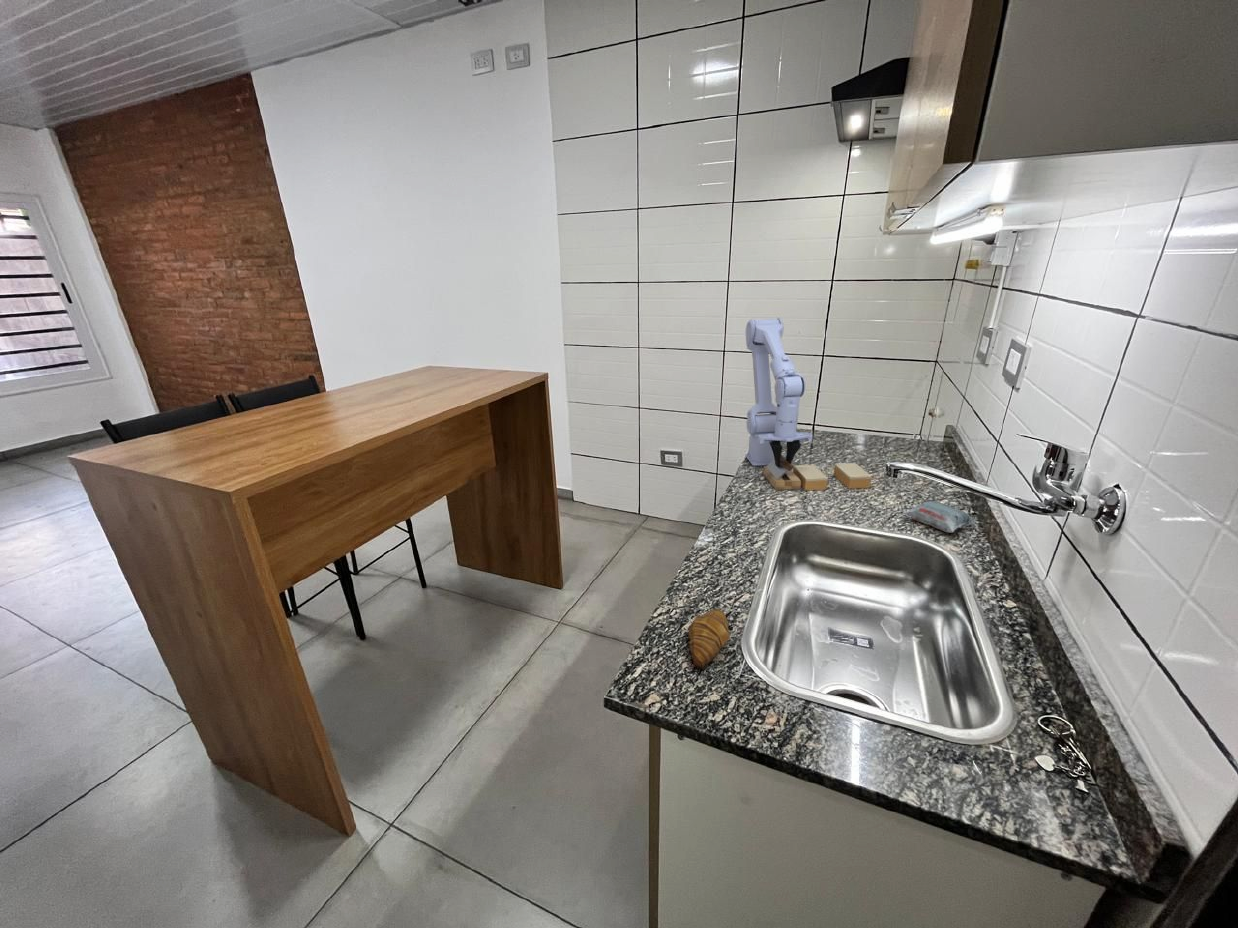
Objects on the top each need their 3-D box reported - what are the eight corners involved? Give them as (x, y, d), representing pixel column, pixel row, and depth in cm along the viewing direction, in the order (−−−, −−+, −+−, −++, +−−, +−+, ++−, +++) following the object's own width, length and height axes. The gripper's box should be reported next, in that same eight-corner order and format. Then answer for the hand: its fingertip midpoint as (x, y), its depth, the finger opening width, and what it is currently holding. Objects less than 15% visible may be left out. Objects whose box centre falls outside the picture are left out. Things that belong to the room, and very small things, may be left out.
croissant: (700, 613, 87) (700, 590, 86) (737, 622, 85) (739, 599, 83) (676, 665, 76) (676, 639, 74) (718, 678, 73) (719, 652, 71)
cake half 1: (792, 476, 143) (793, 465, 142) (812, 475, 143) (814, 464, 142) (804, 490, 134) (806, 478, 132) (826, 489, 133) (828, 478, 132)
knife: (764, 465, 143) (778, 451, 142) (768, 468, 144) (782, 455, 142) (774, 478, 134) (789, 464, 133) (778, 481, 135) (793, 467, 133)
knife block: (762, 473, 146) (763, 465, 145) (786, 472, 146) (786, 464, 145) (775, 490, 134) (775, 481, 134) (800, 489, 134) (801, 480, 134)
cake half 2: (833, 474, 143) (834, 463, 141) (853, 473, 143) (855, 462, 141) (848, 488, 133) (850, 477, 132) (870, 487, 133) (872, 476, 132)
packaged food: (951, 541, 106) (956, 521, 105) (900, 519, 116) (904, 501, 114) (974, 531, 110) (979, 512, 108) (923, 511, 120) (927, 493, 118)
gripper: (764, 424, 130) (761, 471, 134) (818, 422, 129) (813, 469, 134) (757, 417, 136) (754, 462, 141) (808, 415, 136) (804, 460, 141)
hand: (782, 465), depth 138 cm, fingers closed on knife, 2 cm apart
